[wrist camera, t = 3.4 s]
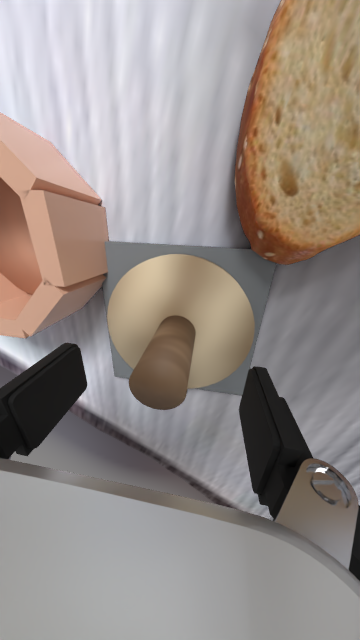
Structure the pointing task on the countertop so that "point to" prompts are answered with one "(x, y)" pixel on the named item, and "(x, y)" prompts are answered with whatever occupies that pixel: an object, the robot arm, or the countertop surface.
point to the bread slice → (302, 133)
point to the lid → (179, 327)
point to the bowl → (45, 234)
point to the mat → (237, 262)
